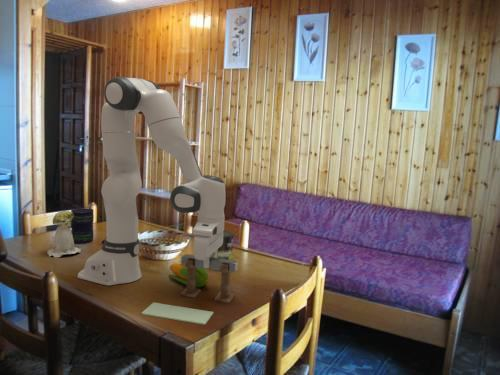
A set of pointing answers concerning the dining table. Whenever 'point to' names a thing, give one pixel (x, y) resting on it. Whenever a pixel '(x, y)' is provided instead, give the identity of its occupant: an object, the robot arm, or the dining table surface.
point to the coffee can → (225, 247)
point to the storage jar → (82, 225)
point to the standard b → (224, 285)
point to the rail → (211, 263)
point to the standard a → (190, 281)
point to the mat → (178, 313)
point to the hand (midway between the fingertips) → (208, 265)
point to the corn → (182, 273)
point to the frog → (63, 235)
